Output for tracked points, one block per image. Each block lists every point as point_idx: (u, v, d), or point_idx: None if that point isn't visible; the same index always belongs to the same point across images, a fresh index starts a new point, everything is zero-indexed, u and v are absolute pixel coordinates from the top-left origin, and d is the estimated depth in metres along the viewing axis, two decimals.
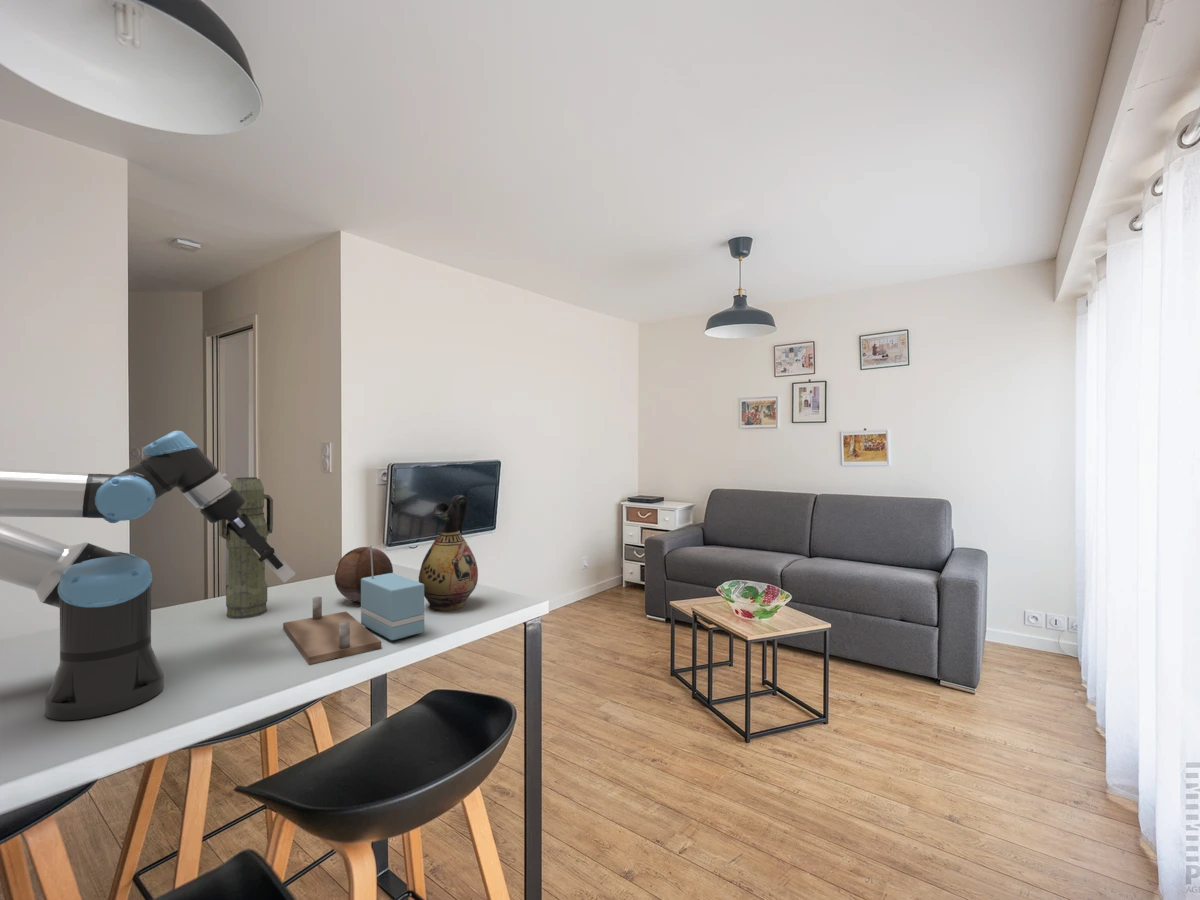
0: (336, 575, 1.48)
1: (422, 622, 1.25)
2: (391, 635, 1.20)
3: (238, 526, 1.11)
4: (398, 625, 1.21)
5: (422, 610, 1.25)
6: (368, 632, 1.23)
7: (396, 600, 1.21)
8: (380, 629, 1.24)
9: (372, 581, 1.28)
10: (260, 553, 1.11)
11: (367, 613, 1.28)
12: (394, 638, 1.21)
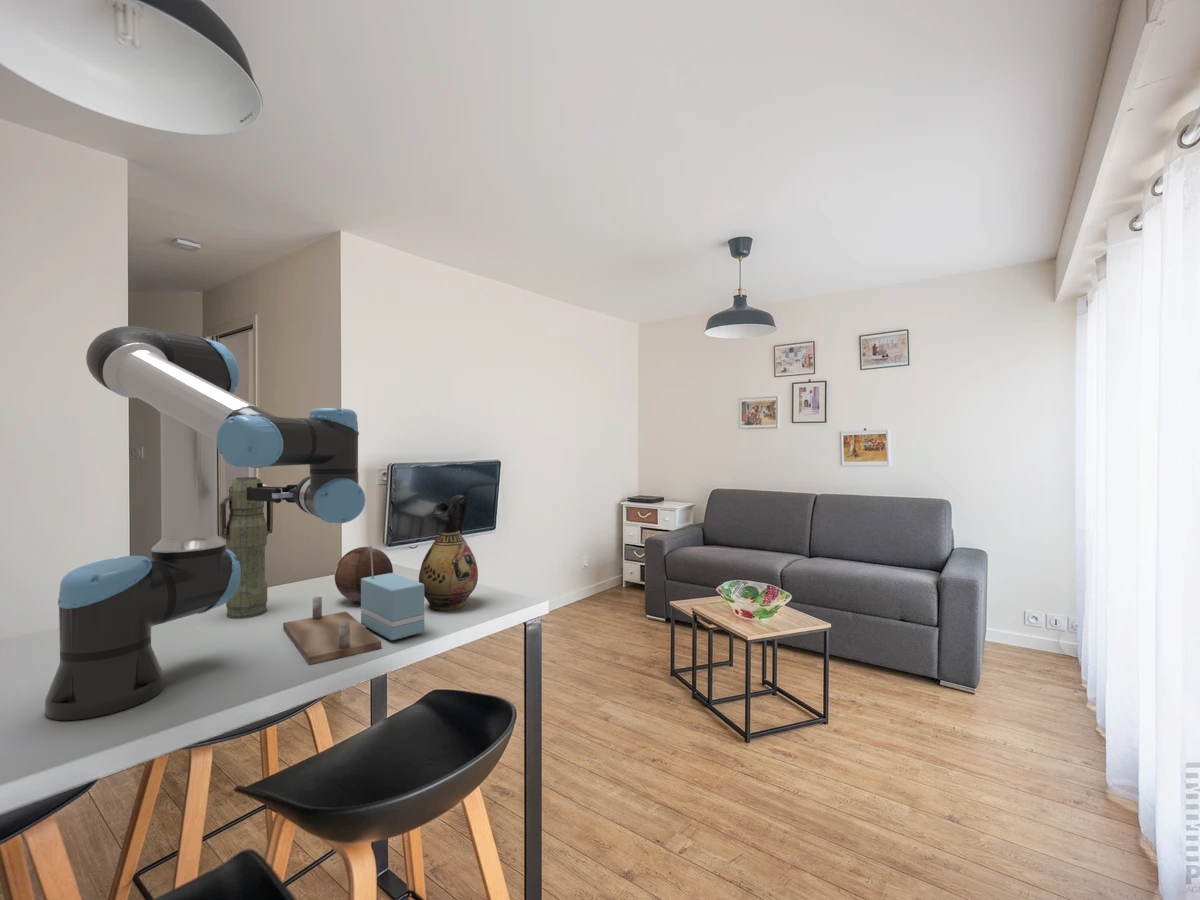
0: (336, 575, 1.48)
1: (422, 622, 1.25)
2: (391, 635, 1.20)
3: (272, 492, 1.02)
4: (398, 625, 1.21)
5: (422, 610, 1.25)
6: (368, 632, 1.23)
7: (396, 600, 1.21)
8: (380, 629, 1.24)
9: (372, 581, 1.28)
10: (249, 489, 1.05)
11: (367, 613, 1.28)
12: (394, 638, 1.21)
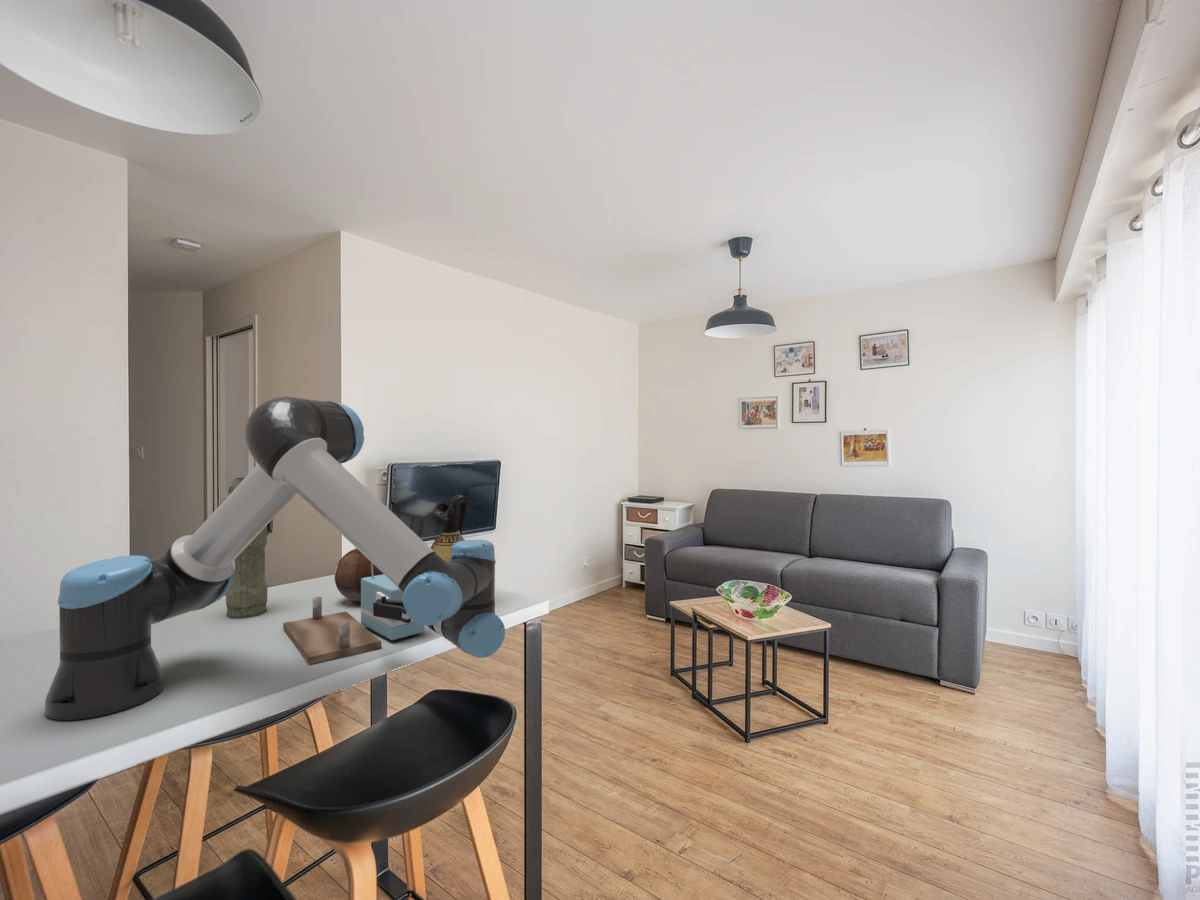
0: (336, 575, 1.48)
1: None
2: (391, 635, 1.20)
3: (402, 612, 1.05)
4: (398, 625, 1.21)
5: None
6: (368, 632, 1.23)
7: (396, 600, 1.21)
8: (380, 629, 1.24)
9: (372, 581, 1.28)
10: (376, 605, 1.08)
11: (367, 613, 1.28)
12: (394, 638, 1.21)
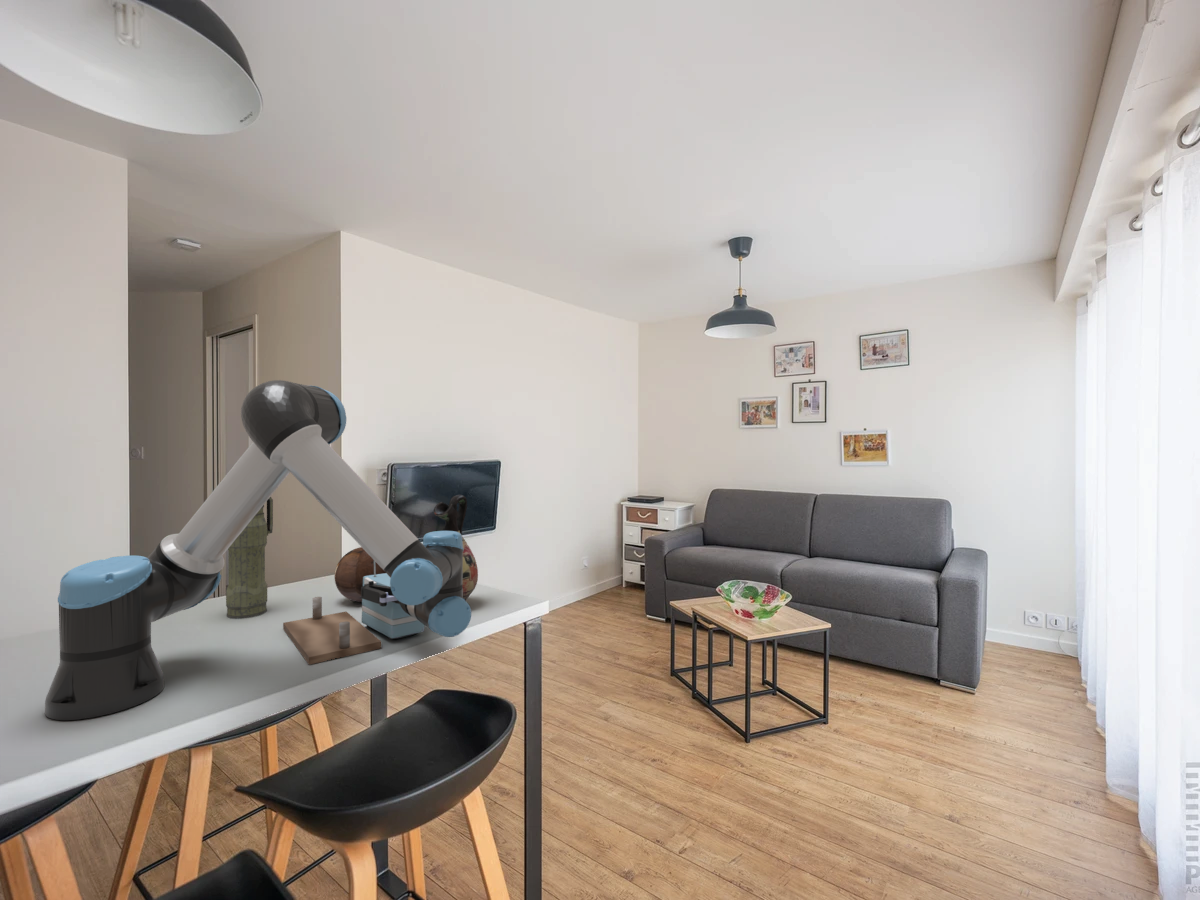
0: (336, 575, 1.48)
1: None
2: (391, 633, 1.20)
3: (379, 596, 1.16)
4: (398, 623, 1.21)
5: None
6: (368, 632, 1.23)
7: None
8: (380, 627, 1.24)
9: (374, 579, 1.28)
10: (362, 589, 1.20)
11: (368, 611, 1.29)
12: (394, 636, 1.21)
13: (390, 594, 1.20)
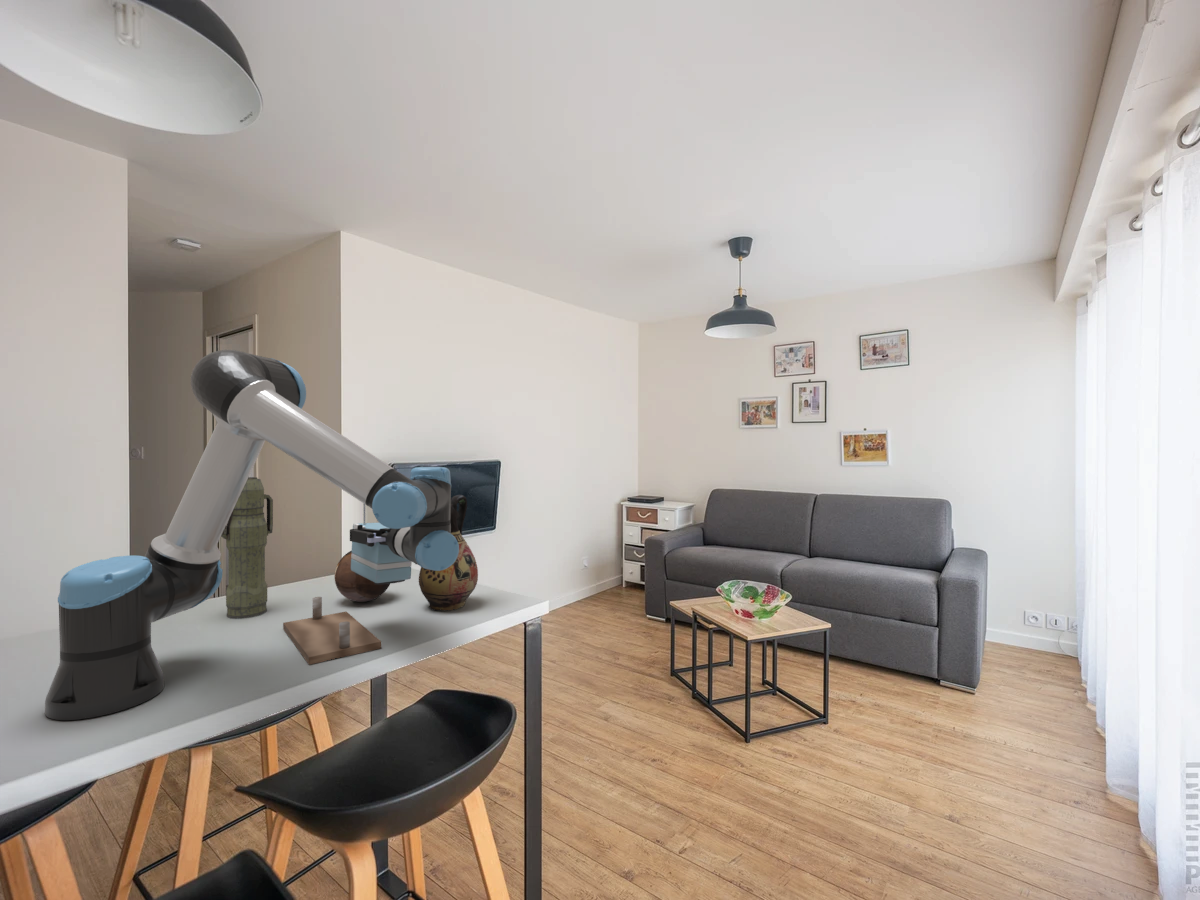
0: (336, 575, 1.48)
1: (409, 569, 1.24)
2: (376, 578, 1.19)
3: (367, 536, 1.15)
4: (384, 568, 1.20)
5: None
6: (368, 632, 1.23)
7: None
8: (366, 573, 1.23)
9: None
10: (351, 531, 1.19)
11: (356, 558, 1.28)
12: (379, 581, 1.19)
13: (378, 536, 1.19)
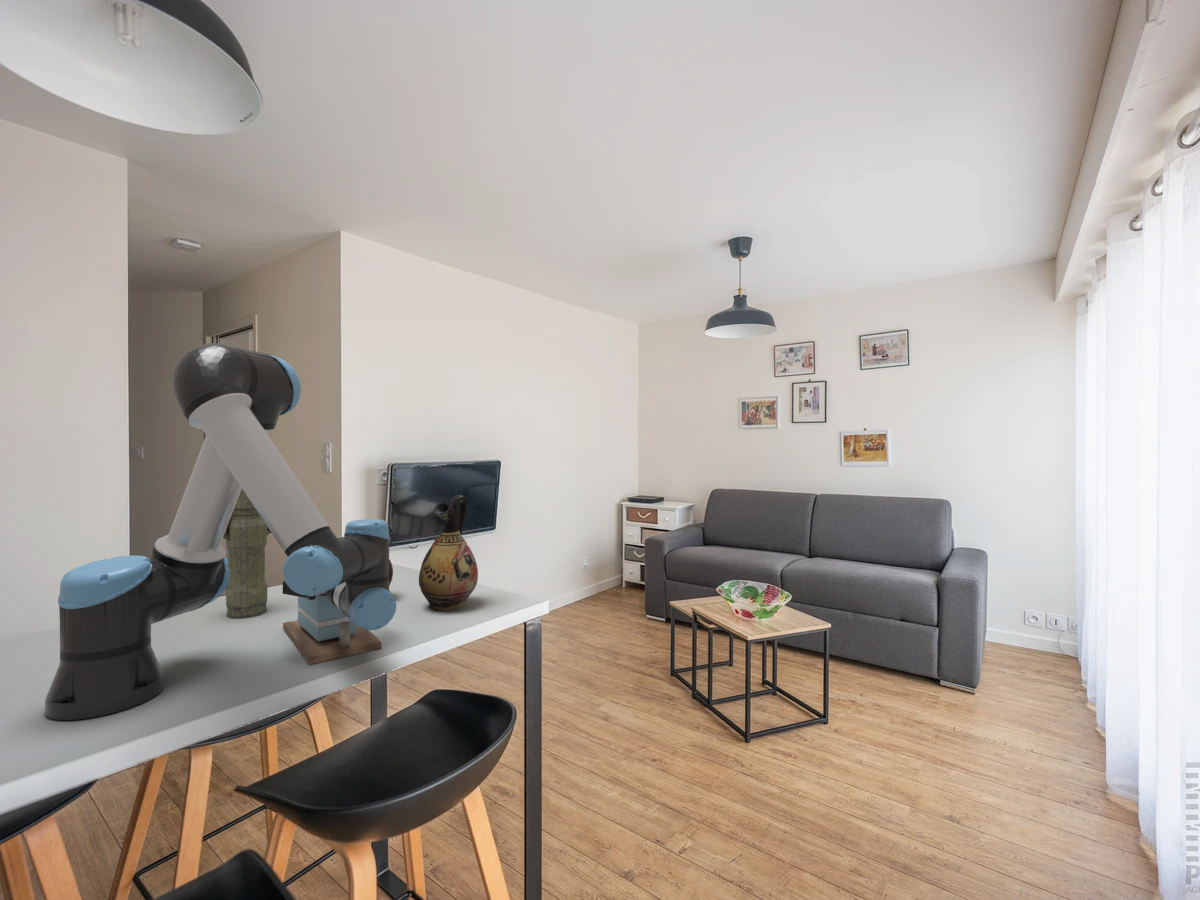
0: None
1: None
2: (317, 636, 1.15)
3: None
4: (325, 625, 1.16)
5: None
6: (368, 632, 1.23)
7: (322, 600, 1.16)
8: (310, 629, 1.19)
9: None
10: (284, 583, 1.13)
11: (301, 612, 1.24)
12: (320, 639, 1.15)
13: None
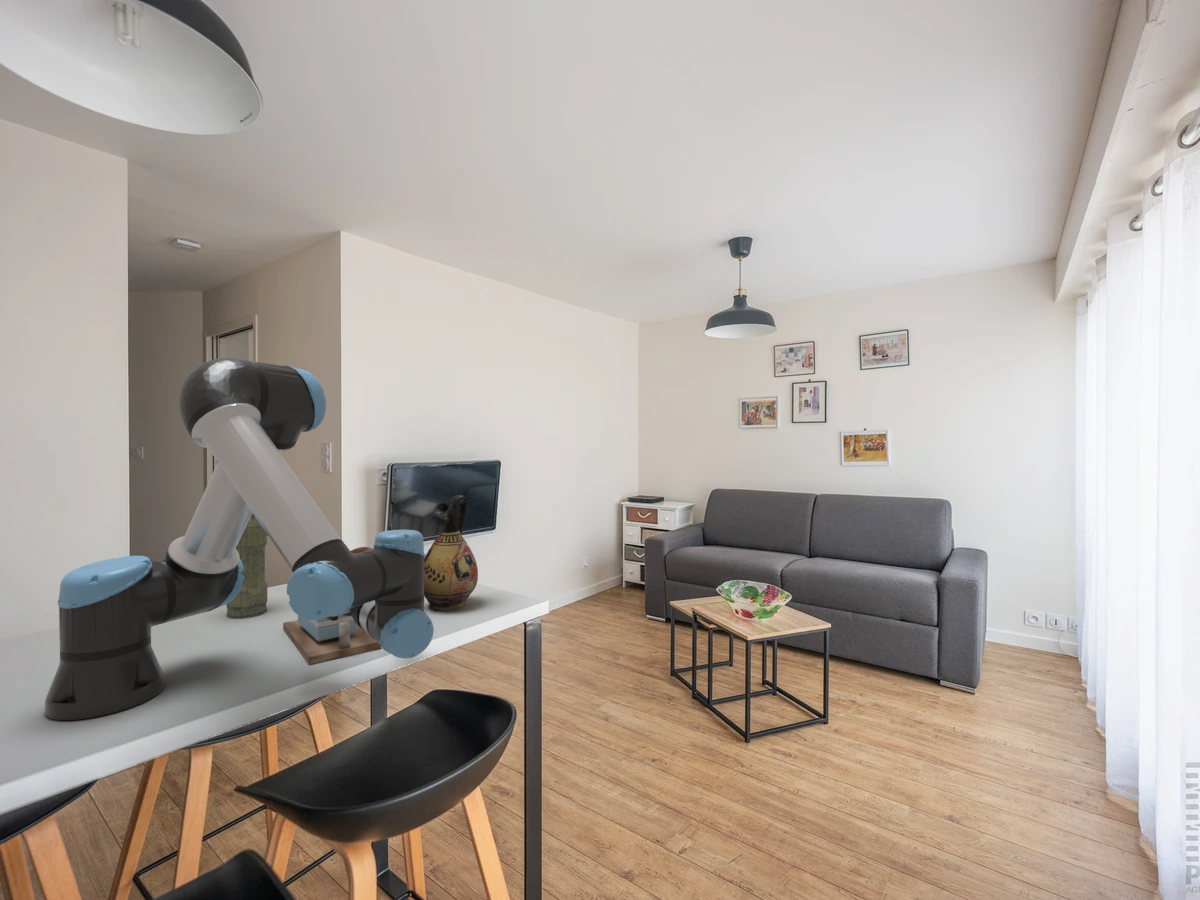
0: None
1: (354, 623, 1.20)
2: (317, 636, 1.15)
3: None
4: (325, 625, 1.16)
5: None
6: None
7: None
8: (310, 629, 1.19)
9: None
10: None
11: None
12: (320, 639, 1.15)
13: None
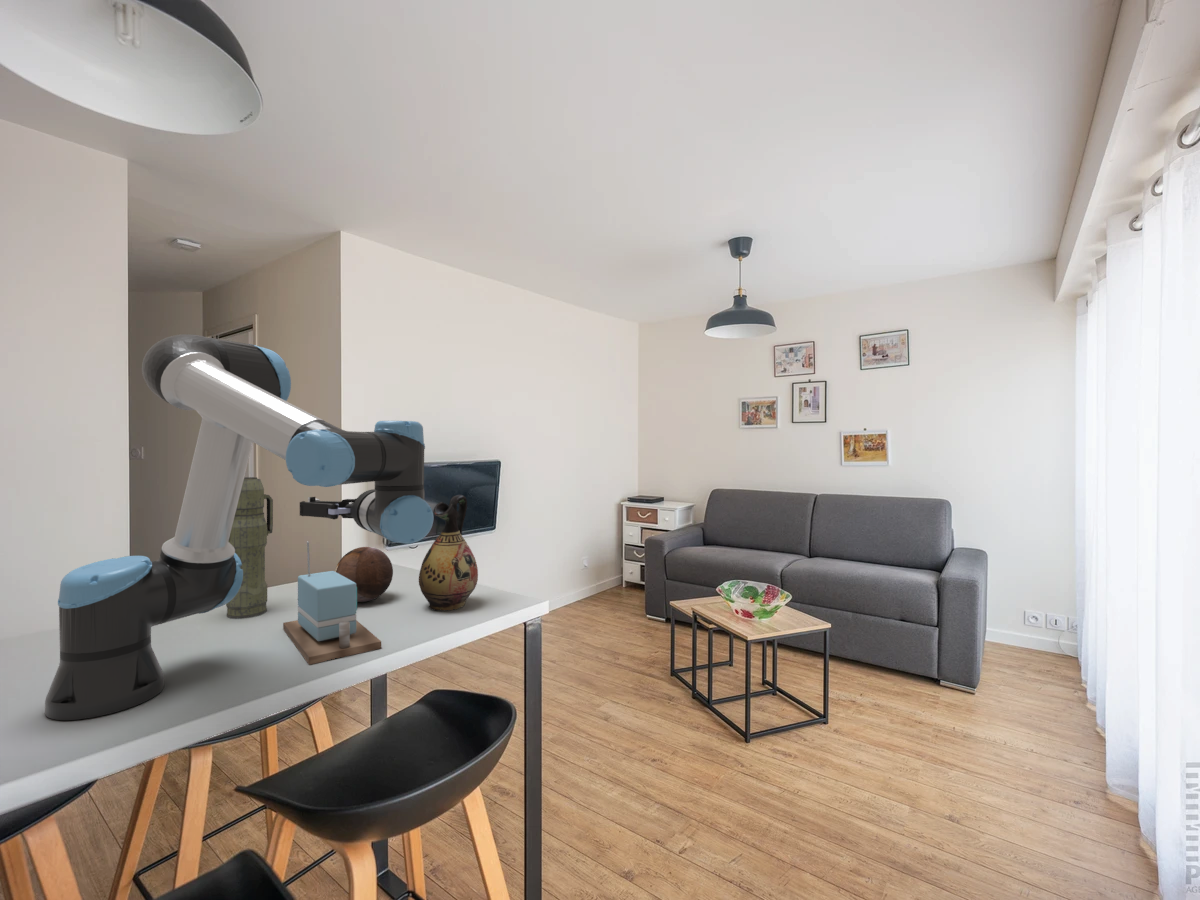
0: None
1: (354, 623, 1.20)
2: (317, 636, 1.15)
3: (328, 508, 0.97)
4: (325, 625, 1.16)
5: (354, 610, 1.20)
6: (368, 632, 1.23)
7: (322, 600, 1.16)
8: (310, 629, 1.19)
9: (306, 579, 1.23)
10: (302, 504, 1.00)
11: (301, 612, 1.24)
12: (320, 639, 1.15)
13: None
